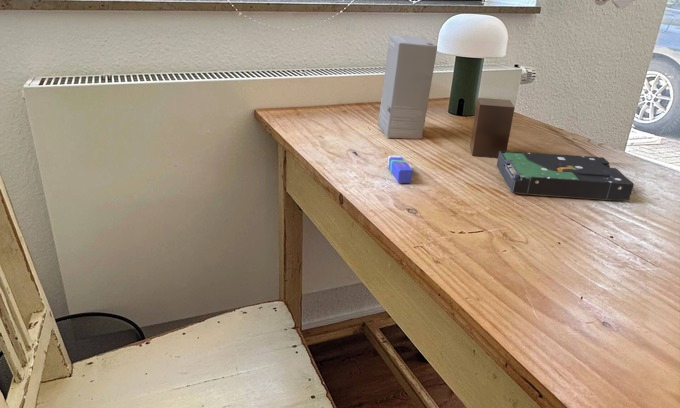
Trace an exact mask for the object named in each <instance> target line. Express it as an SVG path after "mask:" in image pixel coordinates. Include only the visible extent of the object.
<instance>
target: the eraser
mask: <svg viewBox="0 0 680 408" xmlns="http://www.w3.org/2000/svg"><path fill="white" fill-rule="evenodd" d="M387 168H388V171H389V172H390V173H391V174H392V175H393V176H394V178H395V180H396V181H397V182H398V184H411V183H412V181H413V173H414V172H413V169H412V168H411V166H410V165H409V164H408V163H407V161H406V160H405V159H404V158H403V157H402V156H401V154H400V155H399V154H398V155H388V156H387Z"/></svg>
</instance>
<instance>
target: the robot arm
mask: <svg viewBox="0 0 680 408" xmlns="http://www.w3.org/2000/svg"><path fill="white" fill-rule="evenodd" d="M592 1H593V2H594V3H595V5H596V6H603V5H605V4H606V3H607V2H608V1H609V0H592ZM611 2H612V3H613V5H614V6H615V8H617V9H619V10H620V9H621V10H623V9H625V8H626V7H628V6H629V5H631V3H633V2H635V0H611Z"/></svg>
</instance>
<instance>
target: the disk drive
mask: <svg viewBox="0 0 680 408" xmlns="http://www.w3.org/2000/svg"><path fill="white" fill-rule="evenodd" d="M496 167H497V170H498V172H499V173H500V176H501V177H502V179H503V181H504V182H505V184H506V186H507V187H508V189H509V191H510V192H511V193H516V194H519V195H531V196H541V197H562V198H574V199H575V198H576V199H589V200H601V201H602V200H603V201H630V198H631V195H632V192H633V189H634V185H635V184H634V182H633V181H632V180H630V179H629V178H628V177H627V176H625V175H624V174H623V173H622V172H621V171H620V170H618V168H616V167H611V166H610V162H609V161H608V160H607V159H606V158H605V157H603V156H601V157H600V156H590V155H589V156H588V155H584V156H583V155H576V154H575V155H571V154H556V153H539V152H525V151H509V150H507V151H499V155H498V158H497V161H496Z"/></svg>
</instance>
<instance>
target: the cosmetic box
mask: <svg viewBox="0 0 680 408" xmlns="http://www.w3.org/2000/svg"><path fill="white" fill-rule="evenodd" d="M437 51H438V45H437V44H435V43H434V42H433V41H432V40H429V39H427V38H426V37H423V36H410V35H401V34H390V35H389V39H388V47H387V53H386V61H385V67H384V68H385V69H384V76H383V84H382V91H381V100H380V106H379V114H378V120H377V125H378V127H379V128H380V130H381V131H382V133H383V134H384V136H385V137H386V138H387V139H414V140H415V139H417V140H419V139H423V135H424V129H425V122H426V117H427V110H428V104H429V98H430V92H431V85H432V81H433V75H434V68H435V64H436V57H437Z"/></svg>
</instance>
